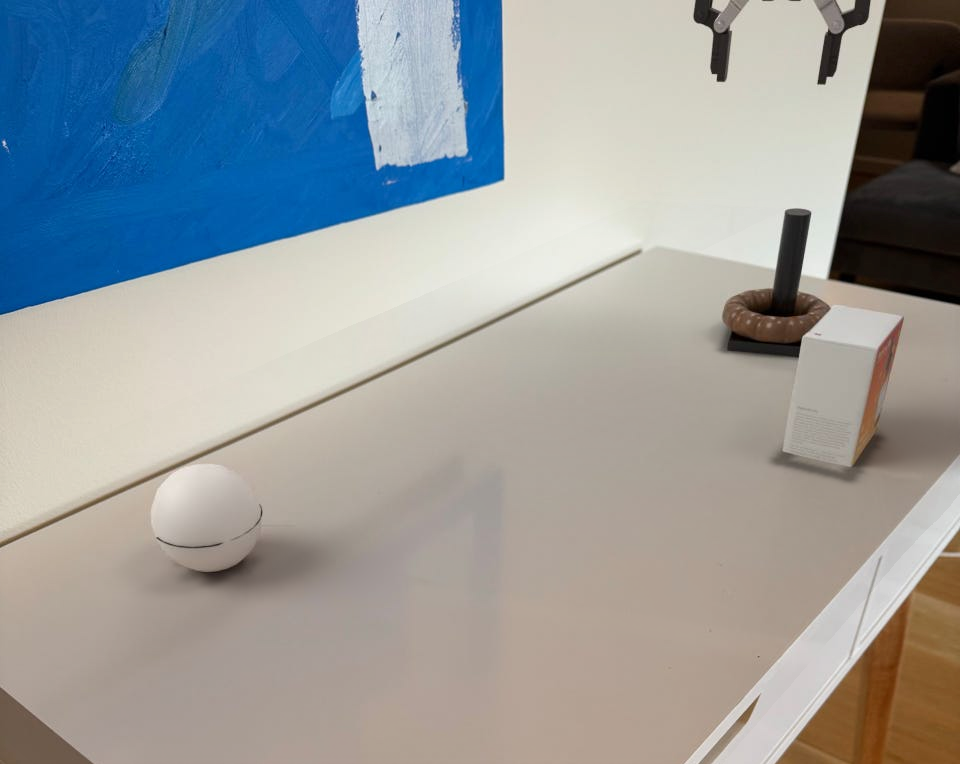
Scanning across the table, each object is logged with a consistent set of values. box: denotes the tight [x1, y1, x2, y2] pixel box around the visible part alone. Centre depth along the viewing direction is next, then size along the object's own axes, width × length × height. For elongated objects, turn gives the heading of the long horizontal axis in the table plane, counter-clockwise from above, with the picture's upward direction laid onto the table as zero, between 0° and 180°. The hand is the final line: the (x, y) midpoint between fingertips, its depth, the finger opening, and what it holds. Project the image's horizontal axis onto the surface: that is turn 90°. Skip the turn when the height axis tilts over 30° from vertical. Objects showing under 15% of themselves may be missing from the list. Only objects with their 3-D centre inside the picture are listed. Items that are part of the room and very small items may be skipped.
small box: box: [782, 304, 905, 468], centre depth 79 cm, size 8×6×10 cm
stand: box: [726, 207, 812, 358], centre depth 97 cm, size 9×9×12 cm
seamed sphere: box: [150, 463, 295, 573], centre depth 68 cm, size 10×7×7 cm
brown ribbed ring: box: [721, 287, 832, 343], centre depth 100 cm, size 10×10×2 cm
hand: (771, 82), depth 88 cm, fingers open, 8 cm apart
